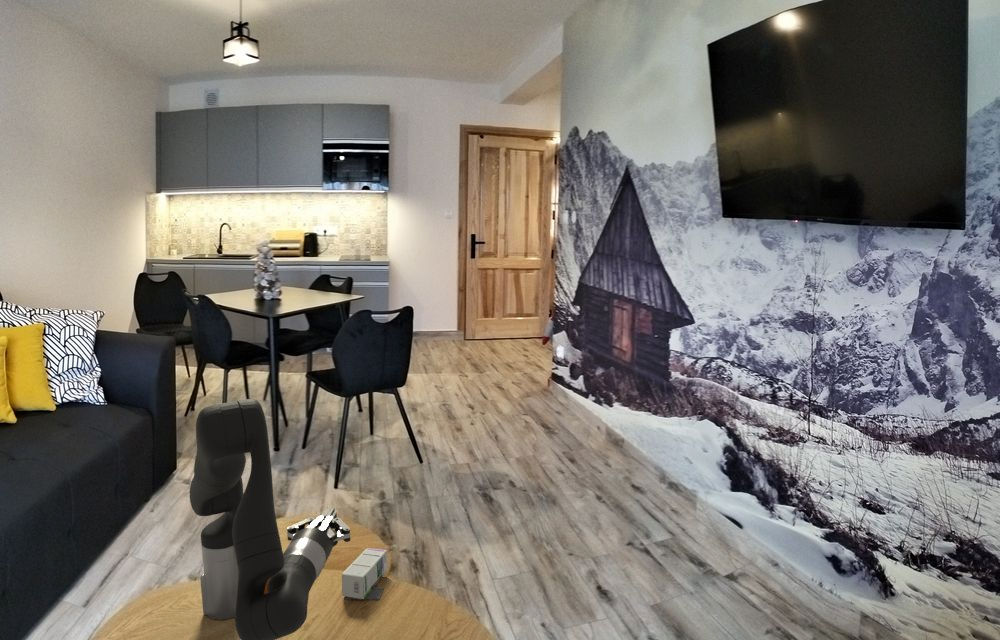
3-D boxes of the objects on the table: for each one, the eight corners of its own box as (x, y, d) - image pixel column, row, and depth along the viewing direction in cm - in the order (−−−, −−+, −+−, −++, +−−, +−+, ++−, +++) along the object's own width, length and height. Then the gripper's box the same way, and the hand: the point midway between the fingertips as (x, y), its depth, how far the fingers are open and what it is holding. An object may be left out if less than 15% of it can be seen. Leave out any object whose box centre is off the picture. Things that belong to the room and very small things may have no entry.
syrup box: (363, 576, 152) (388, 549, 166) (340, 573, 153) (367, 546, 167) (363, 599, 153) (388, 570, 167) (340, 596, 154) (367, 568, 168)
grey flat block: (343, 599, 154) (343, 597, 154) (349, 588, 158) (348, 586, 158) (379, 599, 154) (379, 598, 154) (383, 588, 158) (383, 587, 158)
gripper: (340, 540, 117) (362, 496, 134) (267, 538, 118) (298, 494, 135) (341, 577, 119) (363, 529, 136) (270, 576, 119) (300, 528, 136)
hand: (331, 512), depth 135 cm, fingers closed
